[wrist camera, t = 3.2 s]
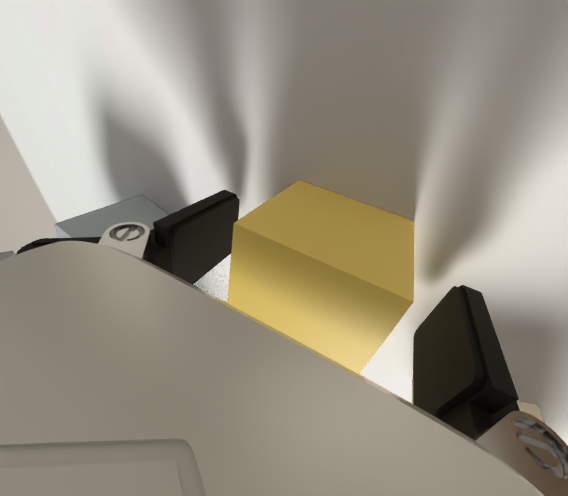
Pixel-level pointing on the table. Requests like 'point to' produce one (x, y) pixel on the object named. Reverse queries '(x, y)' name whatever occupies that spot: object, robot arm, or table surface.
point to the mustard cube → (324, 271)
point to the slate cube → (111, 218)
